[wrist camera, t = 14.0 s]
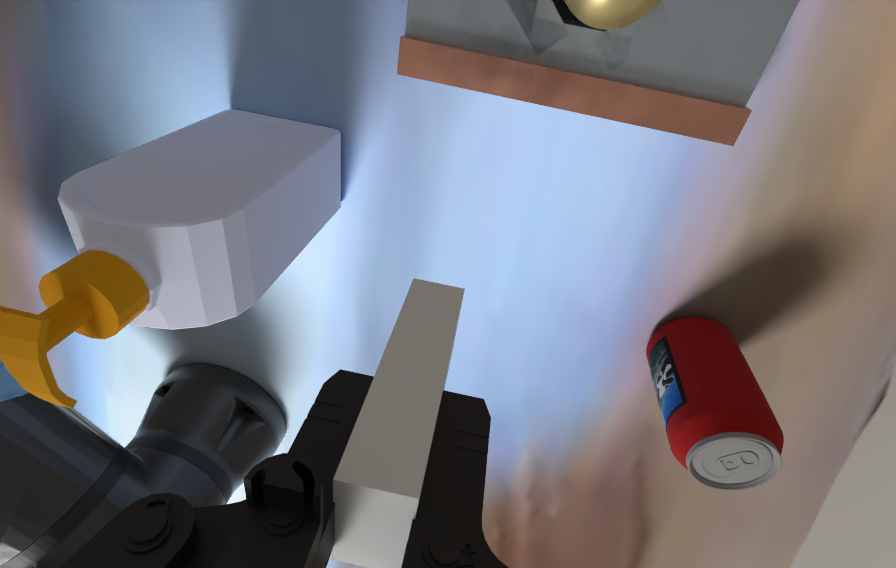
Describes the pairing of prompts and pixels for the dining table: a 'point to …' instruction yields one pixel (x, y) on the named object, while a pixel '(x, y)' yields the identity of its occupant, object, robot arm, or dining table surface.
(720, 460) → the beverage can
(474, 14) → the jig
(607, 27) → the brass cylinder
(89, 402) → the dining table surface
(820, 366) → the dining table surface
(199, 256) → the soap bottle
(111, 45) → the dining table surface
